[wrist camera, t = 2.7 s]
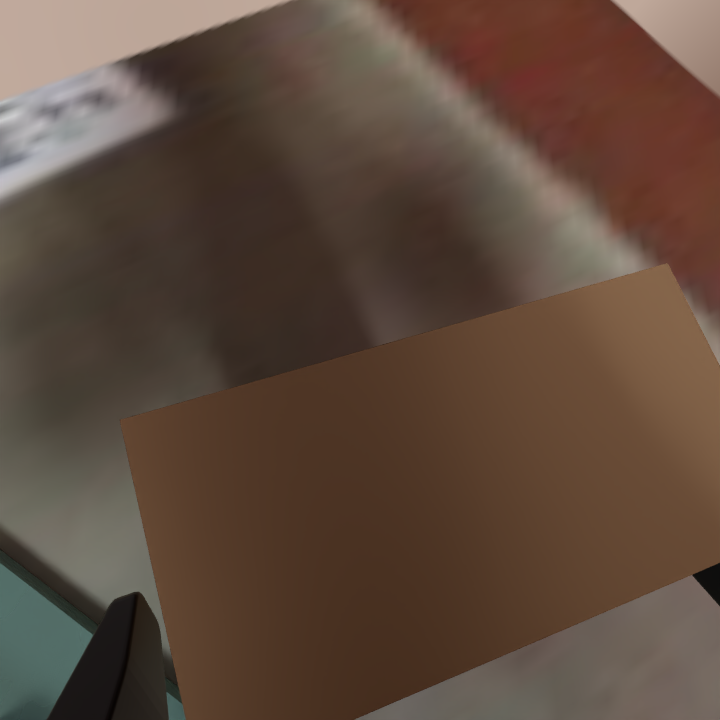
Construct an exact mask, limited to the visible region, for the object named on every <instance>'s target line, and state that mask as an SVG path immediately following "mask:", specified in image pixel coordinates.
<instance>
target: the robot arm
mask: <svg viewBox="0 0 720 720" xmlns="http://www.w3.org/2000/svg"><path fill="white" fill-rule="evenodd" d="M692 576H693V577H694V578H695V579H696V580H697V581H698V582H699V583H700V585H701V586H702V587H703V588H704V589H705V590H706V591H707V592H708V594H709V595H710V596H711V597H712V598H713V599H714V600H715V601H716V603H717V604H718V605H719V606H720V563H718V564H716V565H713V566H711V567H709V568H706V569H704V570H702V571H699V572H697V573H695V574H692ZM46 720H169V715H168V704H167V694H166V684H165V674H164V663H163V653H162V643H161V634H160V628H159V624H158V621H157V619H156V617H155V615H154V614H153V612H152V610H151V608H150V607H149V605H148V603H147V601H146V600H145V598H144V596H143V595H142V594H141V593H140V592H133V593H130V594H128V595H125V596H122V597H119V598H117V599H115V600H114V601H113V602H112V603H111V604H110V606H109V607H108V609H107V611H106V613H105V615H104V616H103V618H102V620H101V622H100V624H99V625H98V627H97V629H96V631H95V633H94V634H93V636H92V638H91V640H90V642H89V644H88V645H87V647H86V649H85V651H84V653H83V654H82V656H81V658H80V660H79V662H78V663H77V665H76V667H75V669H74V671H73V672H72V674H71V676H70V678H69V680H68V681H67V683H66V685H65V687H64V689H63V690H62V692H61V694H60V696H59V698H58V700H57V701H56V703H55V705H54V707H53V709H52V710H51V712H50V714H49V716H48V718H47V719H46Z"/></svg>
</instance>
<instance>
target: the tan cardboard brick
mask: <svg viewBox="0 0 720 720" xmlns="http://www.w3.org/2000/svg"><path fill="white" fill-rule="evenodd" d="M120 423H121V428H122V432H123V437H124V442H125V446H126V451H127V455H128V460H129V464H130V469H131V473H132V478H133V482H134V487H135V491H136V496H137V500H138V505H139V510H140V514H141V519H142V523H143V528H144V532H145V537H146V541H147V546H148V550H149V555H150V559H151V564H152V568H153V573H154V578H155V582H156V587H157V591H158V596H159V600H160V605H161V609H162V614H163V618H164V623H165V627H166V632H167V636H168V641H169V646H170V650H171V655H172V659H173V664H174V668H175V673H176V677H177V682H178V686H179V691H180V695H181V700H182V704H183V709H184V714H185V718H186V720H354V719H356V718H359V717H361V716H363V715H366V714H368V713H370V712H373V711H375V710H377V709H380V708H382V707H384V706H387V705H389V704H391V703H394V702H396V701H398V700H401V699H403V698H405V697H408V696H410V695H412V694H415V693H417V692H419V691H422V690H424V689H426V688H429V687H431V686H433V685H436V684H438V683H440V682H443V681H445V680H447V679H450V678H452V677H454V676H457V675H459V674H461V673H464V672H466V671H468V670H471V669H473V668H475V667H478V666H480V665H482V664H485V663H487V662H489V661H492V660H494V659H496V658H499V657H501V656H503V655H506V654H508V653H510V652H513V651H515V650H517V649H520V648H522V647H524V646H527V645H529V644H531V643H534V642H536V641H538V640H541V639H543V638H545V637H548V636H550V635H552V634H555V633H557V632H559V631H562V630H564V629H566V628H569V627H571V626H573V625H576V624H578V623H580V622H583V621H585V620H587V619H590V618H592V617H594V616H597V615H599V614H601V613H604V612H606V611H608V610H611V609H613V608H615V607H618V606H620V605H622V604H625V603H627V602H629V601H632V600H634V599H636V598H639V597H641V596H643V595H646V594H648V593H650V592H653V591H655V590H657V589H660V588H662V587H664V586H667V585H669V584H671V583H674V582H676V581H678V580H681V579H683V578H685V577H688V576H690V575H692V574H695V573H697V572H699V571H702V570H704V569H706V568H709V567H711V566H713V565H716V564H718V563H720V365H719V363H718V361H717V359H716V357H715V355H714V353H713V352H712V350H711V348H710V346H709V344H708V342H707V340H706V338H705V336H704V334H703V332H702V330H701V328H700V326H699V324H698V322H697V320H696V318H695V316H694V314H693V312H692V310H691V308H690V306H689V304H688V302H687V300H686V299H685V297H684V295H683V293H682V291H681V289H680V287H679V285H678V283H677V281H676V279H675V277H674V275H673V273H672V271H671V269H670V267H669V265H668V263H667V264H663V265H660V266H656V267H653V268H649V269H646V270H642V271H639V272H635V273H632V274H628V275H625V276H621V277H618V278H614V279H611V280H607V281H604V282H600V283H597V284H593V285H590V286H586V287H583V288H579V289H576V290H572V291H569V292H565V293H562V294H558V295H555V296H551V297H548V298H544V299H541V300H537V301H534V302H530V303H527V304H523V305H520V306H516V307H513V308H509V309H506V310H502V311H499V312H495V313H492V314H488V315H485V316H481V317H478V318H474V319H471V320H467V321H464V322H460V323H457V324H453V325H450V326H446V327H443V328H439V329H436V330H432V331H429V332H425V333H422V334H418V335H415V336H411V337H408V338H404V339H401V340H397V341H394V342H390V343H387V344H383V345H380V346H376V347H373V348H369V349H366V350H362V351H359V352H355V353H352V354H349V355H345V356H342V357H338V358H335V359H331V360H328V361H324V362H321V363H317V364H314V365H310V366H307V367H303V368H300V369H296V370H293V371H289V372H286V373H282V374H279V375H275V376H272V377H268V378H265V379H261V380H258V381H254V382H251V383H247V384H244V385H240V386H237V387H233V388H230V389H226V390H223V391H219V392H216V393H212V394H209V395H205V396H202V397H198V398H195V399H191V400H188V401H184V402H181V403H177V404H174V405H170V406H167V407H163V408H160V409H156V410H153V411H149V412H146V413H142V414H139V415H135V416H132V417H128V418H125V419H121V420H120Z"/></svg>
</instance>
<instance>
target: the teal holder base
mask: <svg viewBox="0 0 720 720" xmlns="http://www.w3.org/2000/svg"><path fill="white" fill-rule="evenodd" d="M97 627H98V625H97V624H96V623H95V622H93V621H92V620H91V619H89V618H88V617H87V616H86V615H84V614H83V613H82V612H80V611H79V610H78V609H77V608H75V607H74V606H73V605H71V604H70V603H69V602H67V601H66V600H65V599H64V598H62V597H61V596H60V595H58V594H57V593H56V592H54V591H53V590H52V589H51V588H49V587H48V586H47V585H45V584H44V583H43V582H42V581H40V580H39V579H38V578H36V577H35V576H34V575H32V574H31V573H30V572H29V571H27V570H26V569H25V568H23V567H22V566H21V565H19V564H18V563H17V562H16V561H14V560H13V559H12V558H10V557H9V556H8V555H7V554H5V553H4V552H3V551H1V550H0V720H46V719H47V718H48V716H49V714H50V712H51V710H52V709H53V707H54V705H55V703H56V701H57V700H58V698H59V696H60V694H61V692H62V690H63V689H64V687H65V685H66V683H67V681H68V680H69V678H70V676H71V674H72V672H73V671H74V669H75V667H76V665H77V663H78V662H79V660H80V658H81V656H82V654H83V653H84V651H85V649H86V647H87V645H88V644H89V642H90V640H91V638H92V636H93V634H94V633H95V631H96V629H97ZM165 684H166V694H167V704H168V715H169V720H186V718H185V714H184V709H183V704H182V700H181V695H180V691H179V687H178V686H176V685H175V684H174V683H172V682H171V681H170V680H169V679H167V678H166V677H165Z"/></svg>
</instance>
